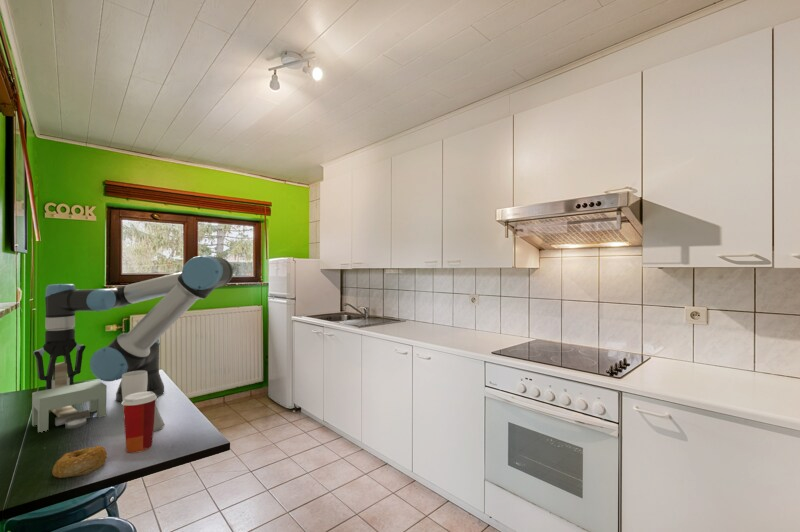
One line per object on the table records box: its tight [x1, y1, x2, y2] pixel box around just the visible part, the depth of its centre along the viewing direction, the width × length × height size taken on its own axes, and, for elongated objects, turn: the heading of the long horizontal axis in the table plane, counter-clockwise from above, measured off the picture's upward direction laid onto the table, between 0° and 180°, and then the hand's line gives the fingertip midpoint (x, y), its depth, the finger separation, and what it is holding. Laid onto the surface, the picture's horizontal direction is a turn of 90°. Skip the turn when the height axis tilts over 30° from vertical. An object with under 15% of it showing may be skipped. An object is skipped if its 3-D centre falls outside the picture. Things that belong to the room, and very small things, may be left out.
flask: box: [153, 394, 165, 433], centre depth 110 cm, size 7×7×10 cm
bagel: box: [51, 445, 108, 479], centre depth 88 cm, size 10×11×5 cm
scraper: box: [50, 361, 91, 427], centre depth 120 cm, size 20×8×16 cm, turn 53°
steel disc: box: [64, 416, 88, 430], centre depth 113 cm, size 5×5×2 cm
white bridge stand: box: [31, 379, 108, 433], centre depth 117 cm, size 10×16×10 cm, turn 144°
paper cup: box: [120, 391, 158, 454], centre depth 98 cm, size 8×8×14 cm
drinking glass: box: [120, 370, 148, 410], centre depth 117 cm, size 7×7×15 cm
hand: (59, 397), depth 125 cm, fingers closed on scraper, 3 cm apart
